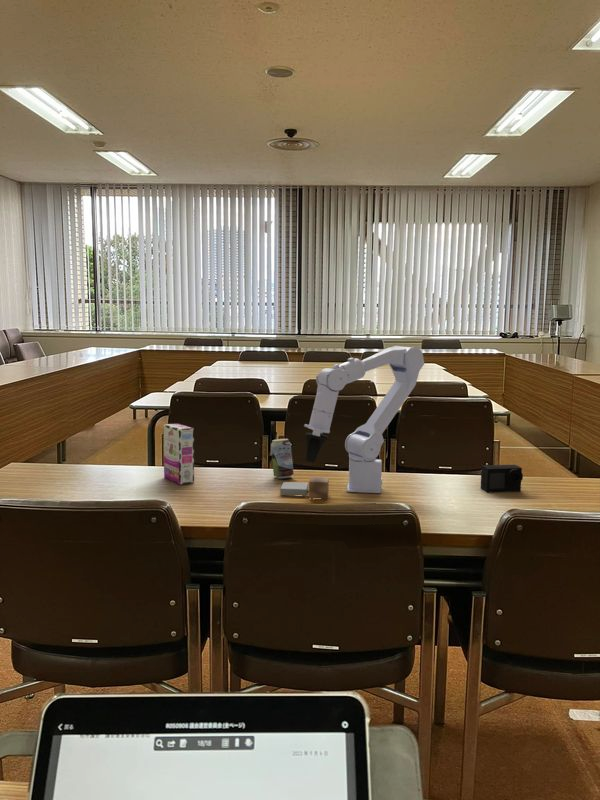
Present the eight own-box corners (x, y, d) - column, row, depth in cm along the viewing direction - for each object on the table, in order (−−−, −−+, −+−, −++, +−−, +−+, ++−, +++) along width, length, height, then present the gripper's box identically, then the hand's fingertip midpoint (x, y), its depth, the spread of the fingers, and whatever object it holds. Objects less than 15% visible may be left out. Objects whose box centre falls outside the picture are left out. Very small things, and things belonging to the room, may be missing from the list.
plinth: (308, 489, 183) (308, 482, 183) (306, 496, 176) (306, 489, 176) (283, 488, 184) (283, 482, 184) (280, 495, 177) (280, 488, 177)
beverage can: (285, 481, 192) (285, 442, 190) (266, 477, 196) (266, 439, 195) (298, 477, 197) (298, 438, 195) (279, 473, 201) (279, 435, 200)
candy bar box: (195, 483, 190) (194, 427, 187) (179, 485, 187) (179, 429, 184) (178, 475, 198) (177, 422, 196) (163, 477, 195) (162, 424, 193)
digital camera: (488, 494, 181) (489, 469, 180) (480, 488, 187) (481, 465, 186) (522, 492, 183) (524, 468, 182) (513, 487, 188) (514, 464, 187)
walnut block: (328, 495, 178) (328, 477, 178) (327, 500, 173) (327, 482, 173) (310, 494, 179) (310, 477, 178) (308, 499, 174) (309, 481, 173)
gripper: (310, 408, 183) (299, 454, 183) (306, 408, 169) (294, 458, 169) (334, 414, 182) (323, 461, 183) (333, 414, 168) (320, 465, 168)
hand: (311, 460), depth 176 cm, fingers open, 7 cm apart
